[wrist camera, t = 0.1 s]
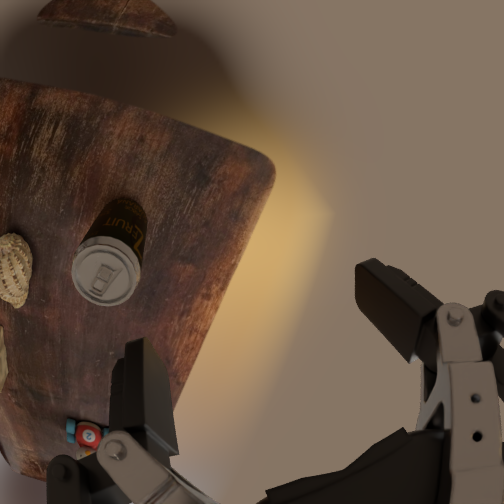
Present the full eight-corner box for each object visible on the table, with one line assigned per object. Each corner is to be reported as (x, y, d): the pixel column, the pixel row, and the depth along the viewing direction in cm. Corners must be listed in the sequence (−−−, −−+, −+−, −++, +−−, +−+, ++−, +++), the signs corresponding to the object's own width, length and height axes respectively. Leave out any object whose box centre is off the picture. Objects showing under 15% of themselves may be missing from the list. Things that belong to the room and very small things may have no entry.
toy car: (113, 425, 42) (113, 469, 34) (109, 443, 45) (110, 482, 36) (67, 413, 38) (62, 457, 30) (68, 433, 41) (65, 473, 32)
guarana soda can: (133, 252, 30) (121, 319, 20) (92, 229, 28) (59, 288, 17) (157, 212, 29) (153, 265, 19) (114, 187, 27) (85, 227, 16)
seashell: (53, 275, 31) (25, 220, 24) (46, 315, 27) (10, 265, 20) (9, 276, 29) (-22, 226, 21) (0, 315, 25) (-39, 268, 18)
